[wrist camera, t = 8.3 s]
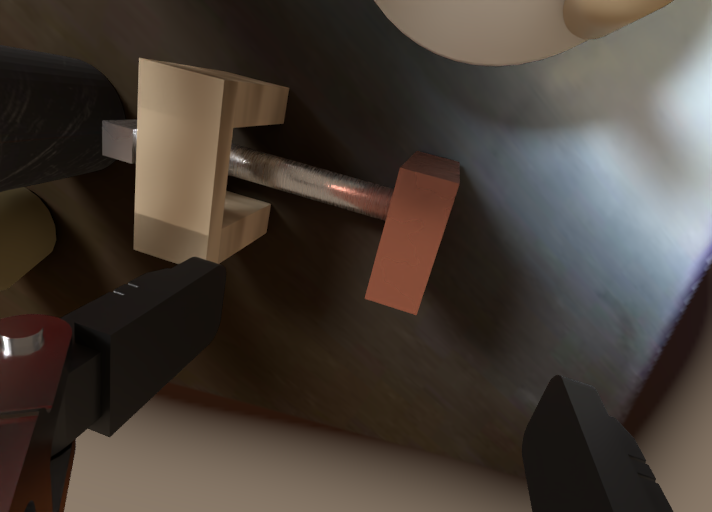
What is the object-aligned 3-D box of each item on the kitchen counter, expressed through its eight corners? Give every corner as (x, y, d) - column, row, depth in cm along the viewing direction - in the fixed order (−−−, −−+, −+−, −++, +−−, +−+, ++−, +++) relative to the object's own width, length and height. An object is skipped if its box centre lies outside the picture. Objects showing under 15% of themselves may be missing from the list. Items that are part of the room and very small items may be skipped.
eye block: (211, 215, 28) (133, 249, 21) (225, 71, 24) (139, 57, 18) (266, 232, 27) (204, 272, 21) (289, 87, 24) (224, 79, 17)
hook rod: (158, 179, 27) (63, 201, 21) (163, 82, 25) (57, 73, 19) (427, 260, 25) (416, 315, 18) (459, 162, 23) (459, 183, 16)
